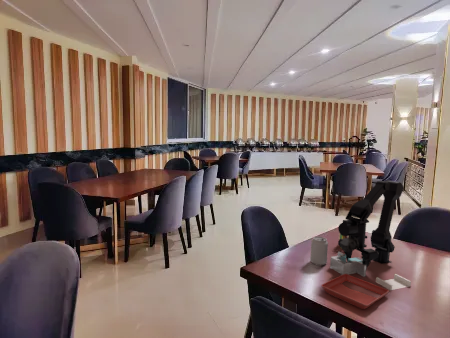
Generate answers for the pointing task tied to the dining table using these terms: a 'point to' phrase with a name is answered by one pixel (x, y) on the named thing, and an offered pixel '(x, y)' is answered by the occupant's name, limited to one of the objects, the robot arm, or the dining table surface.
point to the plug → (355, 259)
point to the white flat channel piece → (394, 282)
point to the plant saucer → (353, 291)
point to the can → (319, 250)
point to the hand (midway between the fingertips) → (355, 266)
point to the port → (347, 265)
